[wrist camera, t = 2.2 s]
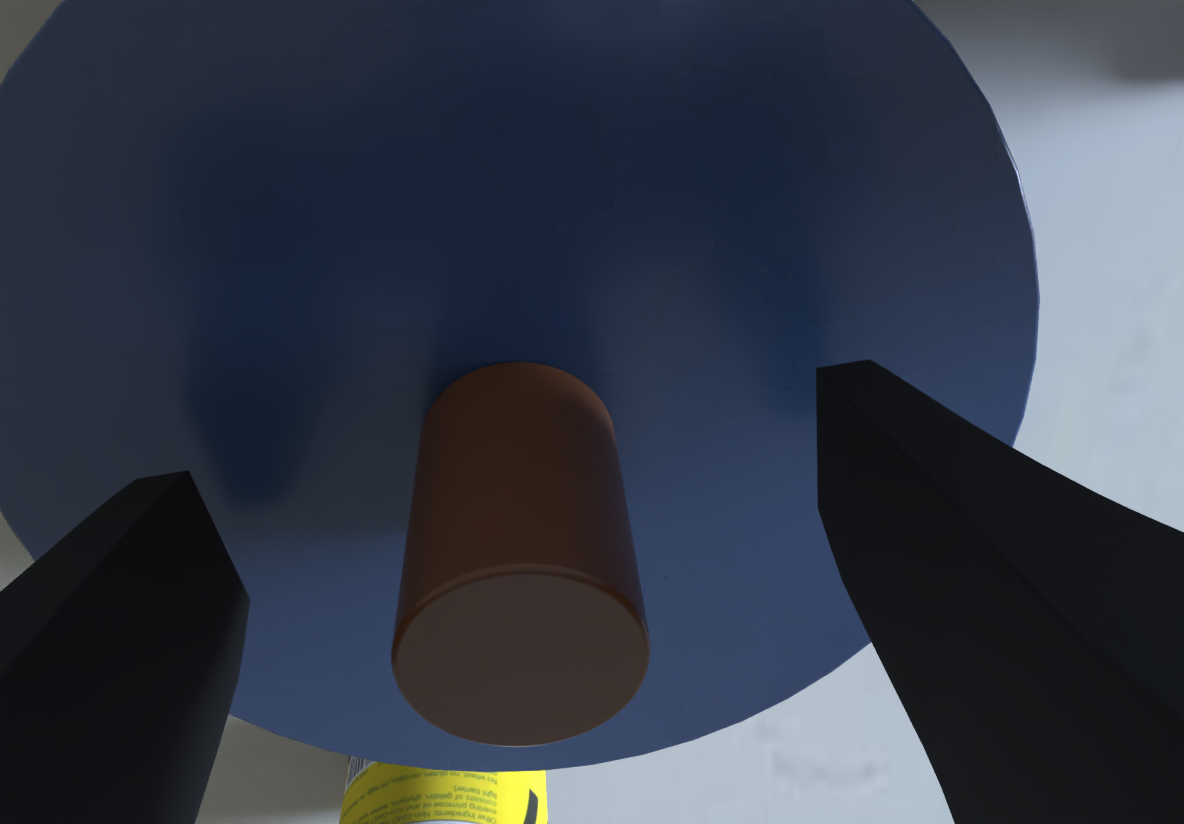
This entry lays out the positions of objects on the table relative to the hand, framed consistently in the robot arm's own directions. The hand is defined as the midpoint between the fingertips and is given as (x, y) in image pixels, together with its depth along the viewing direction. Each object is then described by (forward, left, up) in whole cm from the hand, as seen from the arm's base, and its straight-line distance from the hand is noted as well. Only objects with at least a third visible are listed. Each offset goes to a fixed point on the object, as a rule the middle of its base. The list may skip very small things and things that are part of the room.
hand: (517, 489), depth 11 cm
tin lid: (0, 0, -1) cm, 1 cm away
